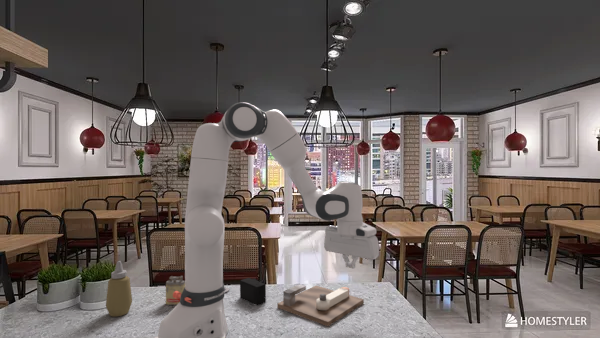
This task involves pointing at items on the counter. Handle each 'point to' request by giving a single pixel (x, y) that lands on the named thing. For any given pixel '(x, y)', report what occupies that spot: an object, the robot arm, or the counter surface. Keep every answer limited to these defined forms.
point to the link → (332, 298)
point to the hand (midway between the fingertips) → (350, 267)
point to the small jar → (174, 289)
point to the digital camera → (253, 291)
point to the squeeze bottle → (118, 292)
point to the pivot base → (306, 304)
